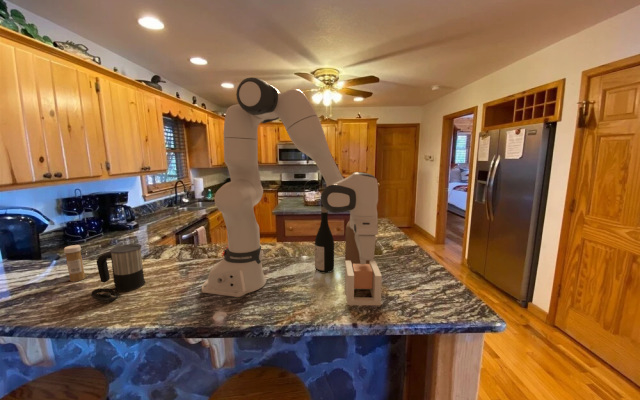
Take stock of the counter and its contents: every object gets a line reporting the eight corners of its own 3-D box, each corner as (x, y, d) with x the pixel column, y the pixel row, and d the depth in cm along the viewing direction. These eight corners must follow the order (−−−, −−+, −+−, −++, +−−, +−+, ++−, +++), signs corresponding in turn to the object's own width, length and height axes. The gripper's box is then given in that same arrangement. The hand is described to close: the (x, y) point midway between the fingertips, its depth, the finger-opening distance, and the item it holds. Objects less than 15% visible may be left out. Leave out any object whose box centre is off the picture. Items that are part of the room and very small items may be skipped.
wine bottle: (319, 275, 104) (319, 201, 99) (312, 267, 111) (311, 198, 106) (337, 271, 107) (337, 200, 102) (329, 264, 114) (329, 197, 109)
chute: (347, 304, 83) (347, 275, 81) (345, 286, 95) (345, 260, 93) (380, 305, 83) (381, 276, 81) (374, 286, 95) (375, 260, 93)
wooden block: (369, 276, 103) (371, 227, 99) (344, 274, 105) (345, 226, 101) (370, 266, 112) (371, 221, 109) (347, 264, 114) (347, 220, 111)
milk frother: (147, 278, 102) (142, 241, 100) (142, 296, 89) (137, 255, 86) (101, 286, 95) (95, 248, 93) (88, 308, 82) (81, 264, 79)
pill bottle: (87, 276, 104) (82, 243, 102) (82, 281, 100) (76, 247, 98) (73, 277, 102) (67, 245, 100) (67, 283, 98) (61, 249, 96)
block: (353, 288, 85) (354, 271, 84) (352, 279, 91) (352, 263, 90) (372, 288, 85) (372, 271, 84) (369, 280, 91) (369, 263, 90)
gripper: (351, 215, 95) (350, 251, 97) (357, 231, 75) (356, 276, 77) (368, 215, 95) (367, 251, 97) (379, 231, 74) (377, 276, 77)
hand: (362, 262), depth 87 cm, fingers closed
